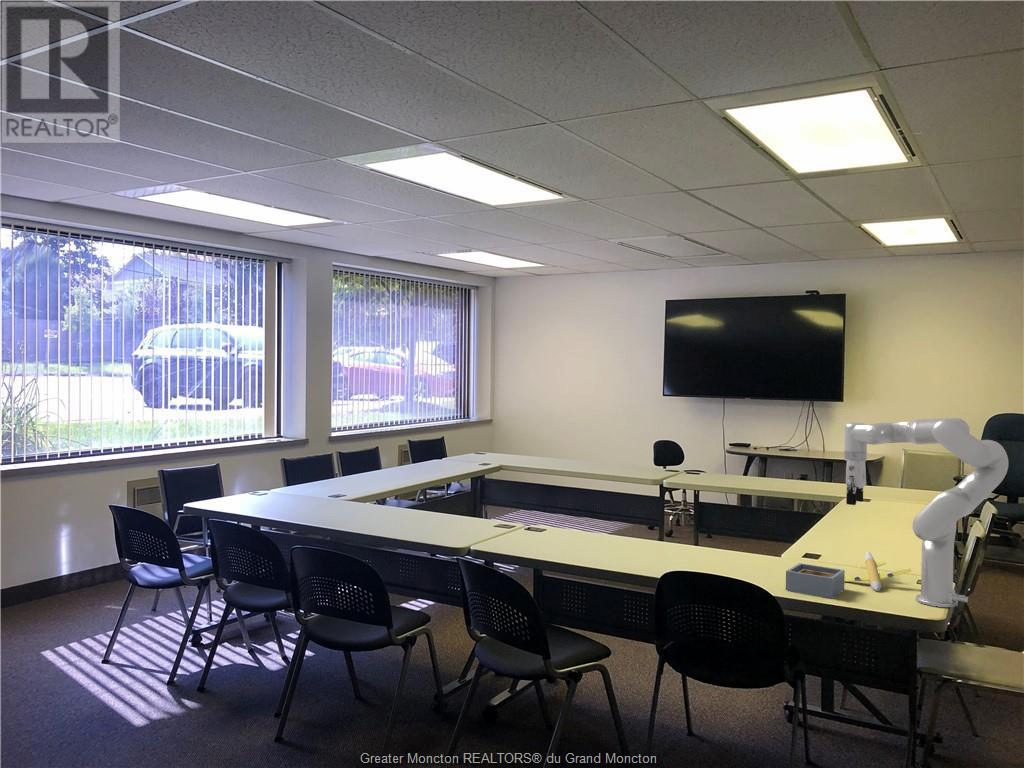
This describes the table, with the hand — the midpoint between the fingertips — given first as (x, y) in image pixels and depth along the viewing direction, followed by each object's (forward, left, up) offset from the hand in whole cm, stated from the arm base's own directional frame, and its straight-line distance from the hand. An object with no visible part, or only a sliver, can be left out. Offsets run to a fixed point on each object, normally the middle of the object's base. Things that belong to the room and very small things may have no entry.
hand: (854, 502), depth 285 cm
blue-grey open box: (+9, +16, -30) cm, 35 cm away
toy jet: (-4, -8, -31) cm, 32 cm away
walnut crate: (+9, +16, -29) cm, 35 cm away
